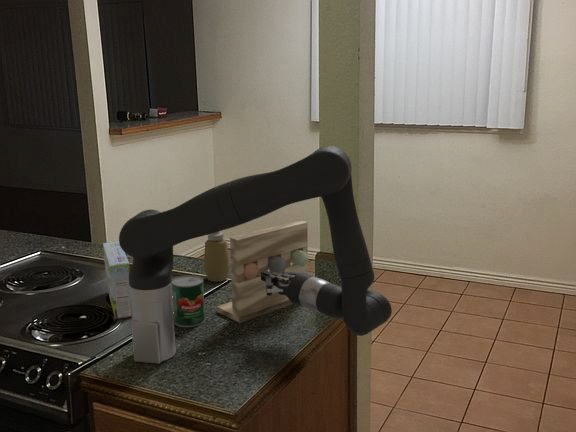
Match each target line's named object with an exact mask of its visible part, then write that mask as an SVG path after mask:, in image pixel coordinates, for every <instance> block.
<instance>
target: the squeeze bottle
mask: <svg viewBox="0 0 576 432" xmlns="http://www.w3.org/2000/svg"><path fill="white" fill-rule="evenodd" d="M224 237H225V236H224V233H223V232H222V231H219V232H215V233H212V234H208V235H207V240H206V241H205V242H204V257H203V272H204V273H205V275H206V279H207V280H208V281H209V282H214V283H216V282H218V283H219V282H223V281H227V279H228V276H229V273H230V271H231V260H230V257H229V255H230V254H229V248H228V242H227V240H226V239H224Z"/></svg>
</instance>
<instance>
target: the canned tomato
mask: <svg viewBox="0 0 576 432" xmlns="http://www.w3.org/2000/svg"><path fill="white" fill-rule="evenodd" d="M171 281H172V299H173V316H174V325H176V326H177V327H179V328H180V327H182V328H192V327H193V328H194V327H197V326H200V325H202V324H204V323H205V321H206V315H205V314H206V313H205V297H204V296H205V293H204V278H203V277H201V276H199V275H192V274H191V275H190V274H189V275H187V274H186V275H181V276H177V277H175V278H172V279H171Z"/></svg>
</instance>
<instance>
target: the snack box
mask: <svg viewBox="0 0 576 432" xmlns="http://www.w3.org/2000/svg"><path fill="white" fill-rule="evenodd" d="M102 249H103V258H104V259H103V261H104V268H105V276H106V277H105V278H106V285H107V287H106V288H107V293H108V296H109V300H110V304H111V309H112V313H113V317H114V320H119V319H121V320H122V319H126V318H132V315H131V302H130V289H129V272H130V269H131V265H130V262H129V259H128V257H127V254H126V253H125V252H124V251H123V250H122V248H121V247H120V244H119V240H118V241H112V242H102Z"/></svg>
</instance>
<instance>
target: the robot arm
mask: <svg viewBox="0 0 576 432" xmlns="http://www.w3.org/2000/svg"><path fill="white" fill-rule="evenodd" d="M352 168H353V167H352V161H351V159H350V157H349V156H348V154H347V153H346V151H344V150H343V149H341V148H339V147H337V146H334V145H326V146H325V145H324V146H322V147H319V148H318V149H316V150H315V151H313V152H312V153H310V155H309V154H308V156H306V157H304V158H302V159H300V160H298V161H296V162H294V163H291V164H289V165H287V166H285V167H283V168H280V169H277V170H274V171H269V172H265V173H264V172H263V173H259V174H258V173H257V174H253V175H252V174H251V175H247V176H244V177H240V178H239V177H238V178H236V179H233V180H230V181H228V182H225V183H222V184H219V185H217V186H214V187H212V188H209V189H208V190H205V191H204V192H202V193H200V194H198V195H195V196H194V197H192V198H190V199H188V200H187V201H184V202H183V203H181V204H180V205H178V206H176V207H173V208H170V209H168V210H164V211H162V212H161V211H159V210H156V209H145V210H142V211H141V212H139V213H137V214H136V215H134V216H132V217H131V218H129V219H128V220H127V221H126V222H125V223H124V224H123V226H122V227H121V229H120V232H119V235H118V241H119V244H120V247H121V248H122V250H123V251H124V252H125V254H126V255H128V256H129V257H132V258H133V259H132V263H131V266H130V272H129V289H130V302H131V315H132V317H131V323H130V324H131V336H132V337H131V338H132V349H133V360H134V362H139V363H148V364H150V363H151V364H156V365H157V364H161V363H162V362H164V361H167V360H170V359H171V358H172V357H174V356H175V354H176V351H177V350H176V336H175V335H176V333H175V323H174V308H173V292H172V291H173V290H172V273H173V268H174V246H176V245H178V244H181V243H184V242H186V241H189V240H193V239H196V238H200V237H204V236H208V234H212V233H215V232H219V231H220V232H222V231H225V230H228V229H232V228H235V227H238V226H241V225H244V224H247V223H249V222H252V221H254V220H257V219H260V218H261V217H264V216H267V215H269V214H271V213H273V212H276V211H278V210H279V209H282V208H284V207H286V206H289V205H292V204H295V203H300V202H303V201H308V200H311V199H317V198H321V200H322V202H323V205H324V209H325V212H326V216H327V219H328V225H329V231H330V239H331V243H332V244H331V245H332V249H333V250H332V251H333V256H334V260H335V263H336V268H337V272H338V275H339V278H340V282H341V286H340V285H337V284H334V283H332V282H329V281H327V280H325V279H323V278H319V277H316V276H313V275H311V274H309V273H308V274H306V273H296V272H282V274H279V273H275V274H274V273H271V272H268V271H263V272H261V280H262V281H265V282H266V292H267V295H268V296H271V295H272V293H274V292H278V293H279V294H281V295H286V296H287V297H288V299H289V300H290V301H291V302H292V303H293V304H292V305H296V306H299V307H301V308H304V309H306V310H308V311H312V312H314V313H320V314H322V315H324V316H327V317H330V318H332V319H335V320H342V319H343V322H344V324H345V326H346V328H347V330H349V331H350V332H351V333H352V334H353V335H356V336H358V337H359V336H360V337H362V336H366V335H368V334H370V333H371V332H373V331H374V330H376V329H377V328H379V327H380V326H382V325H384V324H385V323H387V321H388V320H390V318H391V316H392V311H393V310H392V305H391V303H390V301H389V300H388V299H387V297H385V295H383V294H382V293H380V292H378V291H376V290H371V289H369V288H370V287H371V286H372V284H373V283H374V281H375V271H374V268H373V264H372V261H371V258H370V254H369V250H368V246H367V243H366V240H365V236H364V233H363V230H362V227H361V223H360V220H359V216H358V211H357V207H356V201H355V196H354V190H353V189H354V188H353V179H352Z"/></svg>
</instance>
